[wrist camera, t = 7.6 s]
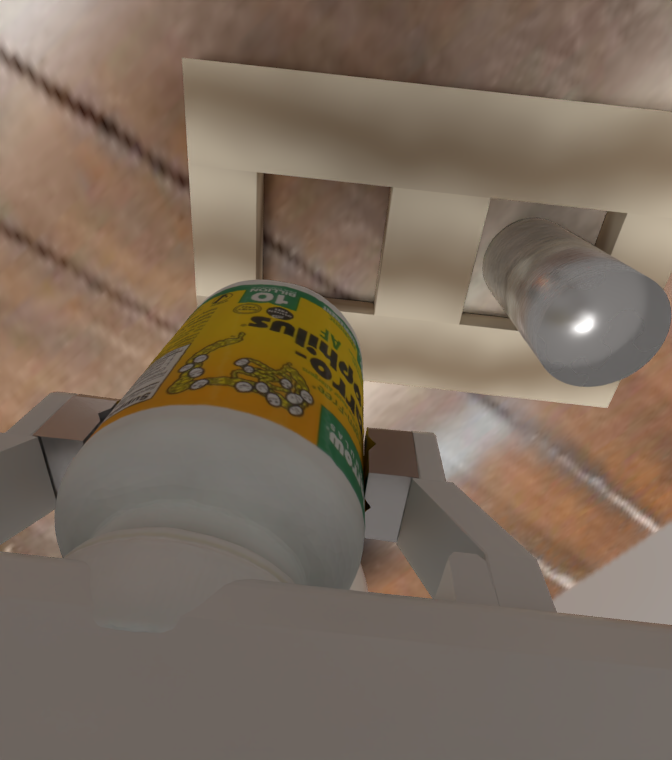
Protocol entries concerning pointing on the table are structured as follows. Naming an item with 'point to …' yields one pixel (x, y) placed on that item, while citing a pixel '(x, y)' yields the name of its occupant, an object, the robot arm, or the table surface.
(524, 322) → the steel pin
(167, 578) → the supplement bottle
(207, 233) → the pin board
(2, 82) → the table surface
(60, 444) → the robot arm
